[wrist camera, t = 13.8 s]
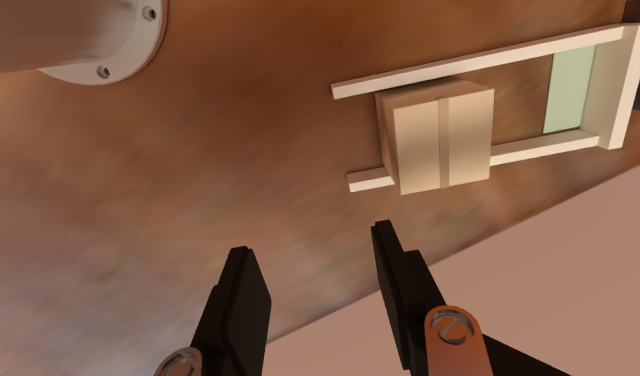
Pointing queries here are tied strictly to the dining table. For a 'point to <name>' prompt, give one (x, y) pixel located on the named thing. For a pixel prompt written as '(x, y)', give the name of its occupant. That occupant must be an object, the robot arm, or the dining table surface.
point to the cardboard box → (435, 133)
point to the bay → (563, 95)
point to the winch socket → (634, 13)
